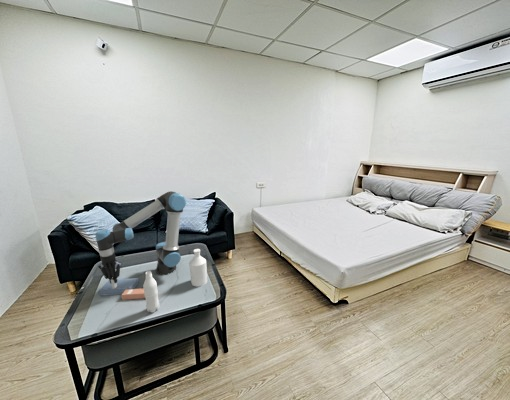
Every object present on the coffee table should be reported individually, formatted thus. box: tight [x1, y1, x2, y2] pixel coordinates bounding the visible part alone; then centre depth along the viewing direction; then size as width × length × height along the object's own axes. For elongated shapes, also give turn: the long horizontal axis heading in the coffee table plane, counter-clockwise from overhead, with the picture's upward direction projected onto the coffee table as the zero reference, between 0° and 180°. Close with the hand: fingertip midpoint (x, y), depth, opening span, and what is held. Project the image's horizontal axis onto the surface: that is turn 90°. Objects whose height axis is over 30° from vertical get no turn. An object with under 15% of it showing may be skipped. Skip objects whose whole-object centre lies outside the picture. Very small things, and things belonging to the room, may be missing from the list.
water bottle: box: [142, 270, 160, 314], centre depth 127 cm, size 7×7×25 cm
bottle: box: [188, 248, 208, 288], centre depth 154 cm, size 12×12×25 cm
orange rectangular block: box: [121, 288, 146, 301], centre depth 142 cm, size 20×6×4 cm, turn 95°
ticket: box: [98, 277, 139, 296], centre depth 150 cm, size 20×12×4 cm, turn 95°
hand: (114, 287), depth 139 cm, fingers closed
